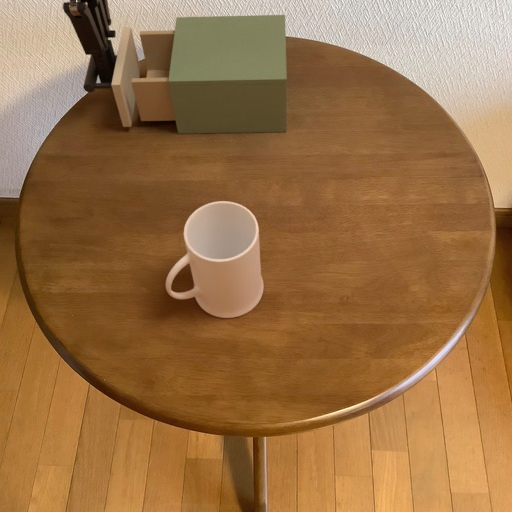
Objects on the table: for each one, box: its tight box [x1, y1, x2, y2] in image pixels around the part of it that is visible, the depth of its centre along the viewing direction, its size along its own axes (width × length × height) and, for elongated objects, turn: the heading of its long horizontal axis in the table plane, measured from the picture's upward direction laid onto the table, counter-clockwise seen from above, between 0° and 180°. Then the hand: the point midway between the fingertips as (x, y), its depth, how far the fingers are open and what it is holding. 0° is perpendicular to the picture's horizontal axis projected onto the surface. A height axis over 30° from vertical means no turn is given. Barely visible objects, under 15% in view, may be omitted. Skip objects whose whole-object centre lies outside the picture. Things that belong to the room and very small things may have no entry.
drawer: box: [82, 26, 176, 128], centre depth 92 cm, size 20×13×8 cm, turn 89°
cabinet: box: [168, 14, 288, 135], centre depth 92 cm, size 16×14×10 cm
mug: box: [165, 200, 265, 319], centre depth 72 cm, size 12×8×12 cm
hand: (110, 80), depth 93 cm, fingers closed
